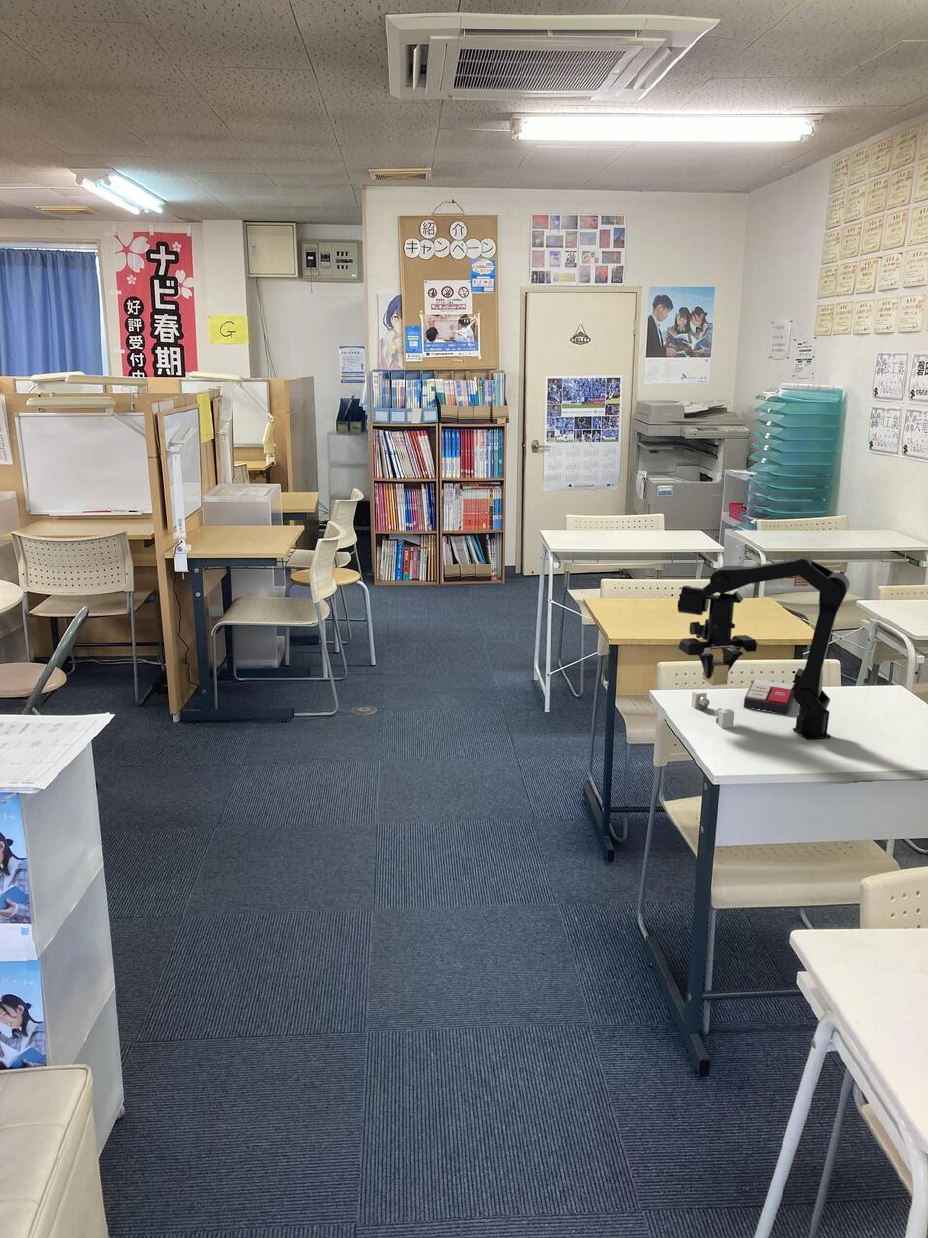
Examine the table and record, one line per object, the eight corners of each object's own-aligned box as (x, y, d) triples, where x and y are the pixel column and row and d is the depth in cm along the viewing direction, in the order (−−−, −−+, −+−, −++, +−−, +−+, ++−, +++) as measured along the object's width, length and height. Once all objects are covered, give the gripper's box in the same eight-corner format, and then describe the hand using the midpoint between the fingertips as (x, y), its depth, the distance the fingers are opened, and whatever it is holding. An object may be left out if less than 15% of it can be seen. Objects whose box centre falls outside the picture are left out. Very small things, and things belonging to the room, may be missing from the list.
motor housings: (701, 704, 242) (703, 690, 241) (732, 727, 227) (734, 711, 226) (691, 705, 241) (692, 691, 240) (721, 728, 226) (723, 712, 225)
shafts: (704, 707, 240) (705, 695, 239) (727, 724, 229) (728, 711, 228) (696, 708, 239) (697, 695, 238) (719, 725, 228) (720, 712, 227)
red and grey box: (744, 695, 239) (753, 676, 252) (742, 711, 241) (752, 691, 254) (788, 702, 235) (795, 683, 248) (786, 718, 236) (794, 697, 249)
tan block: (717, 678, 234) (719, 656, 233) (727, 684, 230) (729, 662, 228) (702, 679, 233) (704, 657, 232) (712, 685, 229) (714, 663, 227)
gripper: (737, 608, 237) (732, 665, 241) (671, 611, 233) (666, 670, 237) (761, 619, 226) (755, 679, 231) (692, 622, 222) (687, 684, 226)
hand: (715, 677), depth 231 cm, fingers closed on tan block, 4 cm apart
